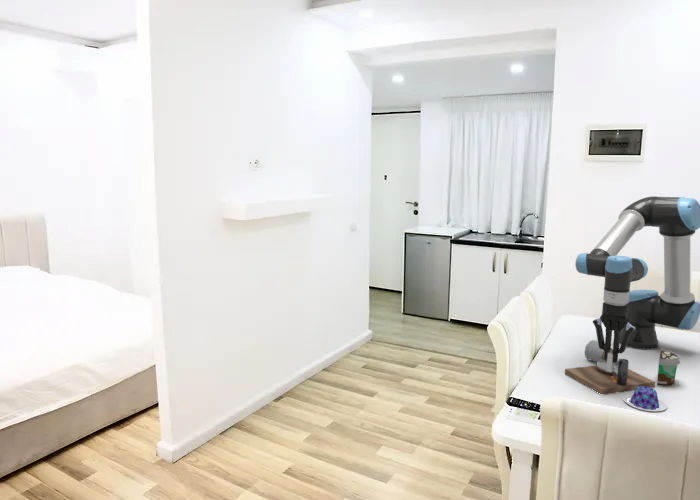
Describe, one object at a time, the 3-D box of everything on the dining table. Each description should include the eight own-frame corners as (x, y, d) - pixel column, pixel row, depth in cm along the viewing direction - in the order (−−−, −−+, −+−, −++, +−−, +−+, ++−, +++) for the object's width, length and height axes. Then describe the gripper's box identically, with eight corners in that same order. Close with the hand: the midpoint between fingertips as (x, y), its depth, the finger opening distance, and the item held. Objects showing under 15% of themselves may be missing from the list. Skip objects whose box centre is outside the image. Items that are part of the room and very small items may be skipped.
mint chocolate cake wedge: (678, 390, 173) (680, 362, 171) (656, 386, 176) (659, 358, 174) (677, 378, 183) (680, 351, 182) (657, 374, 186) (660, 348, 185)
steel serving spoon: (593, 363, 190) (595, 342, 189) (623, 365, 188) (624, 344, 187) (606, 383, 172) (608, 360, 171) (639, 386, 170) (641, 363, 169)
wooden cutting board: (614, 368, 192) (615, 362, 192) (654, 387, 175) (655, 381, 175) (564, 374, 187) (565, 368, 186) (601, 394, 169) (601, 388, 169)
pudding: (622, 408, 161) (624, 392, 160) (623, 393, 171) (625, 378, 170) (667, 416, 155) (669, 400, 154) (665, 401, 165) (667, 386, 165)
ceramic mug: (602, 367, 193) (604, 347, 192) (583, 360, 200) (584, 341, 199) (619, 362, 198) (621, 343, 197) (600, 356, 205) (602, 337, 204)
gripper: (590, 301, 171) (585, 368, 175) (633, 308, 162) (627, 379, 166) (598, 297, 177) (593, 362, 180) (640, 304, 168) (634, 372, 171)
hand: (609, 370), depth 173 cm, fingers closed
